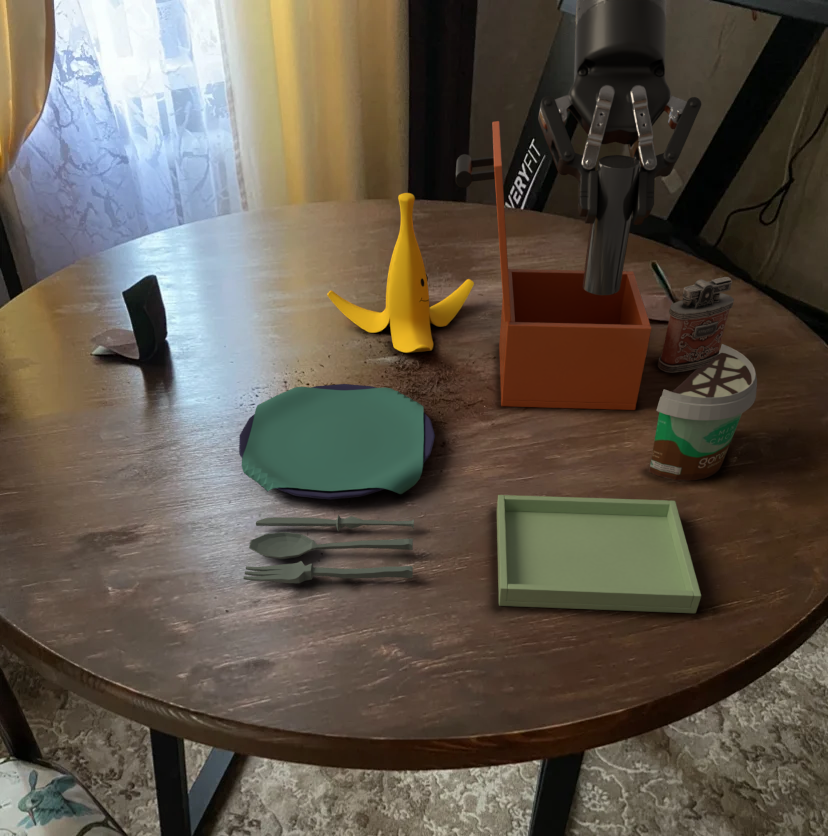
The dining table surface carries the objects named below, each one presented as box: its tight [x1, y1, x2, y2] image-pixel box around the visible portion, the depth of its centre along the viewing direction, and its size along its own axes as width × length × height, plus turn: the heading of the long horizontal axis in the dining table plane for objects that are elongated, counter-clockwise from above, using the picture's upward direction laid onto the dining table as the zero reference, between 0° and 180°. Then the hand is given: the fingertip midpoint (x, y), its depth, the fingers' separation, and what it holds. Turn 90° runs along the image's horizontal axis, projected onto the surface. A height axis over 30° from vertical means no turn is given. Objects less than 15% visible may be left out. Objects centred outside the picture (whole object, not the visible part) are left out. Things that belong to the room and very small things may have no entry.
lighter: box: [657, 276, 735, 374], centre depth 96 cm, size 8×3×10 cm, turn 114°
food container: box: [648, 343, 758, 482], centre depth 81 cm, size 12×6×10 cm, turn 137°
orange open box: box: [498, 268, 652, 411], centre depth 94 cm, size 15×14×10 cm
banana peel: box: [326, 192, 475, 354], centre depth 101 cm, size 16×19×17 cm
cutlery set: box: [238, 383, 436, 584], centre depth 82 cm, size 20×30×2 cm, turn 179°
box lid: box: [455, 120, 511, 322], centre depth 86 cm, size 15×14×4 cm
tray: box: [496, 494, 702, 614], centre depth 73 cm, size 16×12×2 cm
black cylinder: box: [582, 154, 640, 295], centre depth 73 cm, size 3×3×11 cm
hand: (615, 219), depth 70 cm, fingers closed on black cylinder, 3 cm apart
